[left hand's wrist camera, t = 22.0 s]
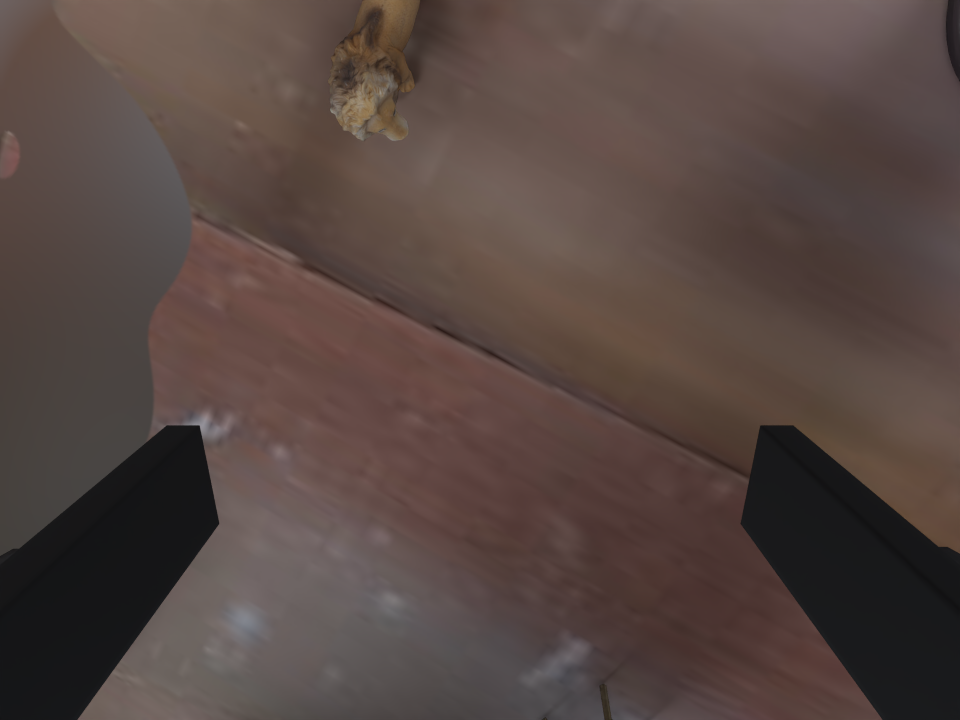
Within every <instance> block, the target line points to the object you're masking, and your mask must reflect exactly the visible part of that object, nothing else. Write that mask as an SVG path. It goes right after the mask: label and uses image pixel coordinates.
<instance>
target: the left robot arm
mask: <svg viewBox="0 0 960 720" xmlns="http://www.w3.org/2000/svg"><path fill="white" fill-rule="evenodd" d="M946 33H947V45H948V51H949V55H950V59H951V63H952V65H953V68H954V71H955V73H956V75H957V77H958V79H959V81H960V0H949V2H948V9H947V21H946ZM218 525H219V520H218V515H217V510H216V505H215V500H214V495H213V490H212V485H211V480H210V475H209V470H208V465H207V460H206V455H205V450H204V445H203V440H202V435H201V430H200V426H166V427H164V428H163V429H162V430H161V431H160V432H158V433H157V434H156V435H155V436H154V437H152V438H151V439H150V440H149V441H148V442H146V443H145V444H144V445H143V446H142V447H141V448H139V449H138V450H137V451H136V452H135V453H133V454H132V455H131V456H130V457H129V458H127V459H126V460H125V461H124V462H123V463H121V464H120V465H119V466H118V467H117V468H115V469H114V470H113V471H112V472H111V473H109V474H108V475H107V476H106V477H105V478H103V479H102V480H101V481H100V482H99V483H97V484H96V485H95V486H94V487H93V488H92V489H90V490H89V491H88V492H87V493H85V494H84V495H83V496H82V497H81V498H79V499H78V500H77V501H76V502H75V503H73V504H72V505H71V506H70V507H69V508H68V509H66V510H65V511H64V512H63V513H62V514H60V515H59V516H58V517H57V518H56V519H54V520H53V521H52V522H51V523H50V524H48V525H47V526H46V527H45V528H44V529H42V530H41V531H40V532H39V533H38V534H36V535H35V536H34V537H33V538H32V539H30V540H29V541H28V542H27V543H26V544H24V545H23V546H22V547H21V548H20V549H12V550H10V551H9V552H7V553H5V554H3V555H1V556H0V720H77V719H78V718H79V717H80V715H81V714H82V713H83V711H84V710H85V708H86V707H87V706H88V704H89V703H90V702H91V700H92V699H93V697H94V696H95V695H96V693H97V692H98V691H99V689H100V688H101V686H102V685H103V684H104V682H105V681H106V679H107V678H108V677H109V675H110V674H111V673H112V671H113V670H114V668H115V667H116V666H117V664H118V663H119V662H120V660H121V659H122V657H123V656H124V655H125V653H126V652H127V650H128V649H129V648H130V646H131V645H132V644H133V642H134V641H135V639H136V638H137V637H138V635H139V634H140V633H141V631H142V630H143V628H144V627H145V626H146V624H147V623H148V621H149V620H150V619H151V617H152V616H153V615H154V613H155V612H156V610H157V609H158V608H159V606H160V605H161V604H162V602H163V601H164V599H165V598H166V597H167V595H168V594H169V592H170V591H171V590H172V588H173V587H174V586H175V584H176V583H177V581H178V580H179V579H180V577H181V576H182V575H183V573H184V572H185V570H186V569H187V568H188V566H189V565H190V564H191V562H192V561H193V559H194V558H195V557H196V555H197V554H198V552H199V551H200V550H201V548H202V547H203V546H204V544H205V543H206V541H207V540H208V539H209V537H210V536H211V535H212V533H213V532H214V530H215V529H216V528H217V526H218ZM741 525H742V526H743V528H744V529H745V530H746V532H747V533H748V535H749V536H750V537H751V539H752V540H753V541H754V543H755V544H756V546H757V547H758V548H759V550H760V551H761V552H762V554H763V555H764V557H765V558H766V559H767V561H768V562H769V564H770V565H771V566H772V568H773V569H774V570H775V572H776V573H777V575H778V576H779V577H780V579H781V580H782V581H783V583H784V584H785V586H786V587H787V588H788V590H789V591H790V592H791V594H792V595H793V597H794V598H795V599H796V601H797V602H798V604H799V605H800V606H801V608H802V609H803V610H804V612H805V613H806V615H807V616H808V617H809V619H810V620H811V621H812V623H813V624H814V626H815V627H816V628H817V630H818V631H819V633H820V634H821V635H822V637H823V638H824V639H825V641H826V642H827V644H828V645H829V646H830V648H831V649H832V650H833V652H834V653H835V655H836V656H837V657H838V659H839V660H840V662H841V663H842V664H843V666H844V667H845V668H846V670H847V671H848V673H849V674H850V675H851V677H852V678H853V679H854V681H855V682H856V684H857V685H858V686H859V688H860V689H861V691H862V692H863V693H864V695H865V696H866V697H867V699H868V700H869V702H870V703H871V704H872V706H873V707H874V708H875V710H876V711H877V713H878V714H879V715H880V717H881V718H882V720H960V554H959V553H957V552H956V551H954V550H952V549H950V548H948V547H938V546H937V545H936V544H934V543H933V542H932V541H931V540H930V539H928V538H927V537H926V536H925V535H924V534H922V533H921V532H920V531H919V530H918V529H916V528H915V527H914V526H913V525H912V524H910V523H909V522H908V521H907V520H906V519H904V518H903V517H902V516H901V515H900V514H898V513H897V512H896V511H895V510H894V509H892V508H891V507H890V506H889V505H888V504H887V503H885V502H884V501H883V500H882V499H881V498H879V497H878V496H877V495H876V494H875V493H873V492H872V491H871V490H870V489H869V488H867V487H866V486H865V485H864V484H863V483H861V482H860V481H859V480H858V479H857V478H855V477H854V476H853V475H852V474H851V473H849V472H848V471H847V470H846V469H845V468H843V467H842V466H841V465H840V464H839V463H837V462H836V461H835V460H834V459H833V458H831V457H830V456H829V455H828V454H827V453H825V452H824V451H823V450H822V449H821V448H819V447H818V446H817V445H816V444H815V443H814V442H812V441H811V440H810V439H809V438H808V437H806V436H805V435H804V434H803V433H802V432H800V431H799V430H798V429H797V428H796V427H794V426H760V430H759V435H758V440H757V445H756V450H755V455H754V460H753V465H752V470H751V475H750V480H749V485H748V490H747V495H746V500H745V505H744V510H743V515H742V520H741Z"/></svg>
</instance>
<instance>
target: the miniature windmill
mask: <svg viewBox="0 0 960 720" xmlns="http://www.w3.org/2000/svg"><path fill="white" fill-rule="evenodd" d="M600 692H601V699H602V705H603V712H604V719H605V720H612V719H611V712H610V706H609V699H608V693H607V687H606V685H605V684H602V685H600ZM542 720H547V718H544V719H542Z"/></svg>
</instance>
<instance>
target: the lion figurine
mask: <svg viewBox="0 0 960 720" xmlns="http://www.w3.org/2000/svg"><path fill="white" fill-rule="evenodd" d="M419 4H420V0H363V1H362V4H361V7H360V10H359V12H358V15H357V18H356V22H355V25H354V29H353V30H352V31H351V33H350V34H349V35H348V37H345V39H344V40H343V41H341V42H340V44H339V45H338V46H337V47H336V49H335V53H334V55H333V56H332V57H331V60H332V69H331V70H330V73H331V76H330V78H329V79H328V83H329V85H330V94H331V97H330V103H331V108H330V111H331V112H332V113H333V114H335V115H336V118H337V120H338V122H339V124H340V125H341V126H342V128H343V130H344V131H350V132H351V133H352V134H353V135H355V136H356V137H357V138H358V139H361V140H362V141H365V139H366V138H369V137H370V136H371V135H372V134H375V133H381V134H384V135H386V136H387V137H388V138H389V139H391V140H393V141H397V140H403V139H404V138H405V137H406V136H407V135H408V133H409V128H408V123H407V121H406V120H405V119H404V118H403V117H402V116H401V115H399V114H398V112H397V111H396V106H395V105H396V102H397V98H398V91H399V89H400V90H401V91H402V92H410V91H411V90H412V89H413V88H414V87H415V84H414V79H413V76H412V73H411V71H410V70H409V69H408V66H407V64H406V60H405V56H404V53H403V52H402V51H403V49H404V48H405V46H406V44H407V42H408V40H409V38H410V35H411V32H412V30H413V26H414V23H415V19H416V16H417V13H418V9H419Z"/></svg>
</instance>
